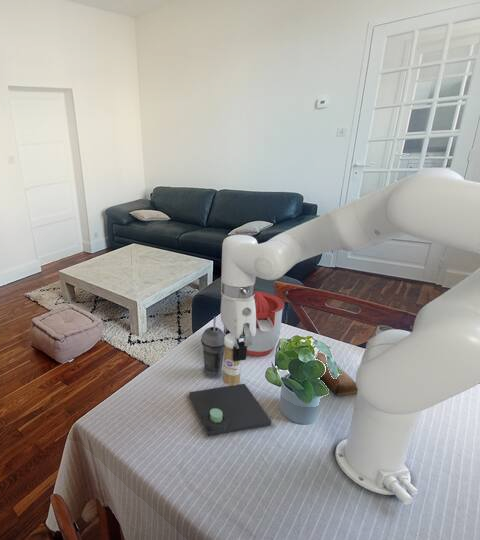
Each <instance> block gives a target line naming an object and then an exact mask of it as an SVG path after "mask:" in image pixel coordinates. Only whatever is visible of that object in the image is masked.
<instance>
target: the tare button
mask: <svg viewBox="0 0 480 540" xmlns="http://www.w3.org/2000/svg"><path fill="white" fill-rule="evenodd" d="M222 417H223V413H222V411H221V410H220V409H217V408H213V409H211V410H210V419H211V421H213V422H215V423H219V422H221V421H222Z"/></svg>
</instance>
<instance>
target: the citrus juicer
mask: <svg viewBox="0 0 480 540" xmlns="http://www.w3.org/2000/svg"><path fill="white" fill-rule="evenodd" d="M253 298H254V299H255V307H256V334H255V336H254V337H251V340H252V345H251V346H248V347H247V354H246V355H250V356H254V357H263V356H267V355H269V354H271V353H272V352H273V350H274V349H275V348H276V345H277V343H278V341H279V338H280V335H281V328H282V319H283V318H282V317H283V309H284V306H285V303H284V301H283V299H281V298H280V297H278V296H276V295H274V294H272V293H269V292H264V291H256V290H255V296H254V297H253ZM242 334H243V333H242ZM243 341H244V340H243Z"/></svg>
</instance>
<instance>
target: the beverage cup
mask: <svg viewBox="0 0 480 540" xmlns="http://www.w3.org/2000/svg"><path fill="white" fill-rule="evenodd" d="M216 318H217V317H216V316H213V325H212V326H209V327H207V328H206V329H204V330H203V332H202V334H201V338H200V342H201V346H202V355H203V364H204V373H205V375H206V376H207V377H209V378H215V379H216V378H219V377H220V376H221V374H222V371H223V359H224V335H226V334H224V330H222V329H221V328H220V327H217V326H216V322H217V319H216Z"/></svg>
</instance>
